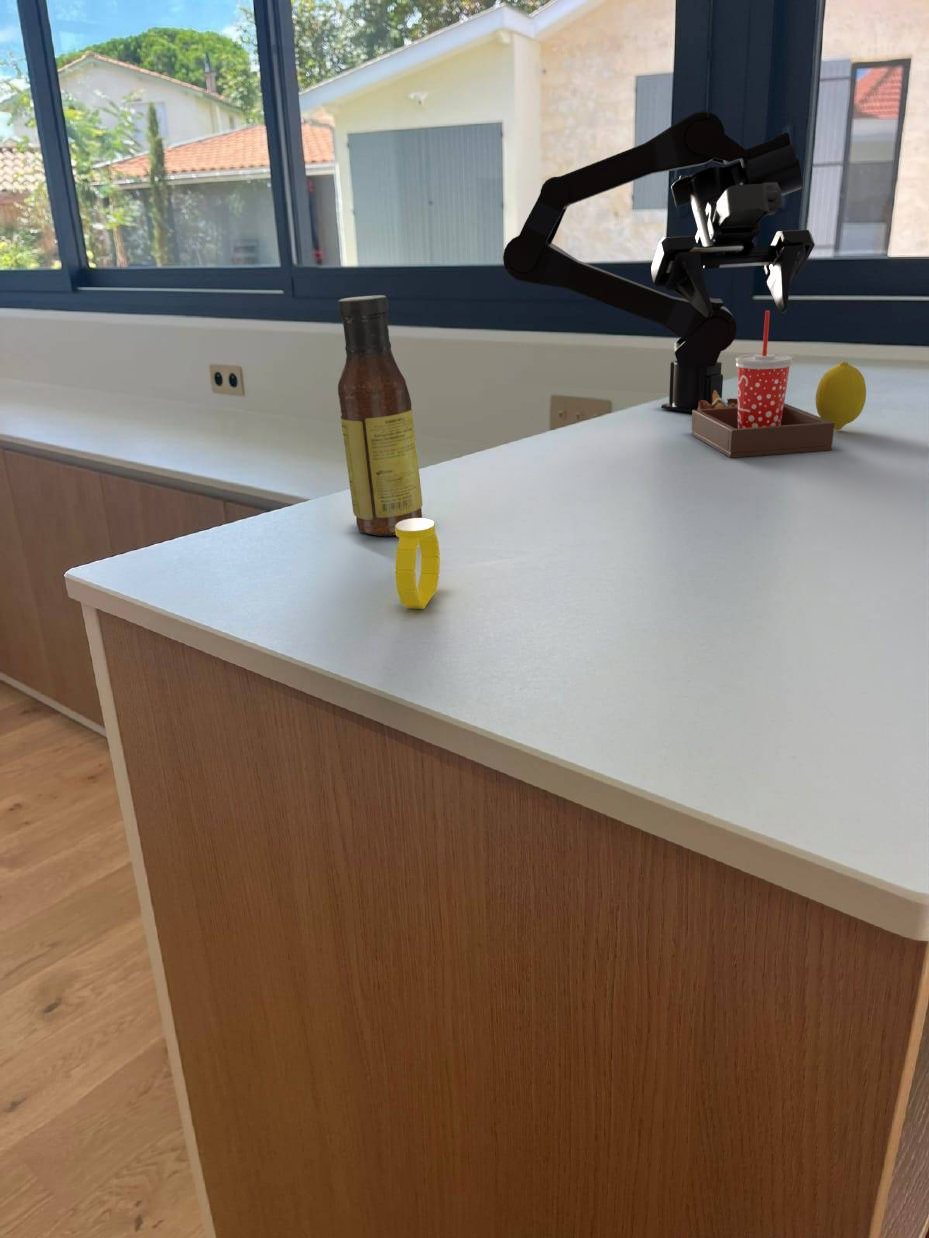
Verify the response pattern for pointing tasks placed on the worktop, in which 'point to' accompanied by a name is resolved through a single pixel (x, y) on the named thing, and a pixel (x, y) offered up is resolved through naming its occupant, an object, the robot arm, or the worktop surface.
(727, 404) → the pastry
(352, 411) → the sauce bottle
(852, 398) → the lemon
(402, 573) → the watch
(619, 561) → the worktop surface
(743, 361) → the beverage cup
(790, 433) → the tray
